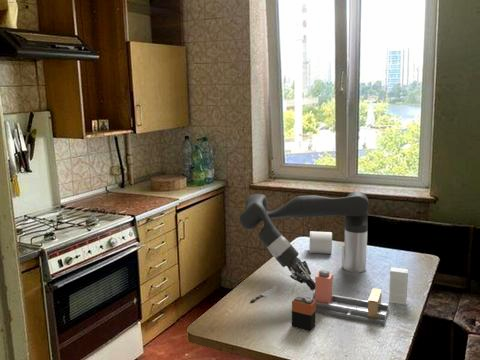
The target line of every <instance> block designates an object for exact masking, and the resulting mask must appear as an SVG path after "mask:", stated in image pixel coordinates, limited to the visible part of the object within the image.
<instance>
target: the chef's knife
mask: <svg viewBox="0 0 480 360" xmlns="http://www.w3.org/2000/svg"><path fill="white" fill-rule="evenodd" d="M277 288H278V285H274V286H272V287H271V288H269V289H268V290H265V291H264V292H262V293H261V294H259V295H258V296H255V298H253V299H251V300H250V303H251V304H252V303H255V301H257V300H258V299H259V300H260V298H262V297H264V298H269V297H270V296H271V295H272V294H274V292H276V290H277Z"/></svg>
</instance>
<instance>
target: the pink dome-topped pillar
mask: <svg viewBox="0 0 480 360" xmlns="http://www.w3.org/2000/svg"><path fill="white" fill-rule="evenodd" d="M314 279H315V280H314V282H315V289H314V292H315V301H320V302H326V303H331V301H332V295H333V285H334V284H333V283H334V274H333V273H331V272H330V271H329V270H327V269H321V270H319V271H318V272H317V273H316V275H315V277H314Z"/></svg>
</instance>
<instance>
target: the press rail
mask: <svg viewBox="0 0 480 360" xmlns="http://www.w3.org/2000/svg"><path fill="white" fill-rule="evenodd" d="M382 291H383V290H382V289H380V288H372V289H371V291H370V292H371V293H370V294H369V297H368V300H366V299H362V298H361V299H360V298H355V297H348V296H344V295H343V296H342V295H337V294H332V301H331V303H326V302H320V301H316V314H321V315H325V316H330V317H331V316H332V317H336V318H341V319H346V320H351V321H357V322H363V323H367V324H372V325H378V326H385V324H386V320H387V317H388V313H389V309H390V308H389V303H384V302H382ZM311 299H312V300H315V291H313V293H312V297H311Z"/></svg>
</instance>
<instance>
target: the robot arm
mask: <svg viewBox="0 0 480 360" xmlns="http://www.w3.org/2000/svg"><path fill="white" fill-rule="evenodd" d="M267 198H268V197H267V196H266V195H265V194H263V193H262V194H261V193H254V194H249V195H248V196H247V197H246V199H245V206H246V208H245V210H243V212H241V213H240V214H239V215H238V222H239V224H240V226H241V227H242V228H243V229H246V230H250V231H251V230H253V229H254V228H256V227H257V226H258V225H259V224H260V223H261V222H263V227H262V229H261V230H260V231H259V233H258V234H257V236H258V238H259V240H260V241H261V242H262V243H263V245H264V246H265V247H266V248H267V250H268V252H270V254H271V255H272V256H273V257H274V259H275V260H276V261H277V262H278V263H279V265H281V267H283V268H285V267H287V270H289V271H290V273H291V274H290V275H289V276H290V279H293V280H294V281H296V282H298V283H300V284H306V285H307V287H308V288H309V289H310V290H311V291H313V292H314V291H315V280H314V279H312V276H311V275H312V271H310V267H309V265H308V263H307V262H306V260H303V261H301V259H300V258H299V257H298V256H299V252H298V251H297V249H296V248H295V247H294V246H293V245H292V243H290V241H289V240H288V239H287V238H286V237H284V235H283V234H282V233H281V232H280V231H279V230H278V228H276V226H275V224H274V223H273V221H272V220H275V219H285V218H289V219H292V218H297V219H298V218H300V219H301V218H302V219H303V218H318V217H329V216H344V243H343V245H342V249H341V252H342V253H341V267H342V268H343V269H344V270H345V271H347V272H350V273H363V272H365V271H366V269H367V250H368V249H367V247H368V228H369V227H368V226H369V225H368V223H369V222H368V215H369V214H368V213H369V209H370V201H369V199H368V197H367V195H366V194H365V193H364V192H362V191H359V190H356V191H351V192H350V193H349V194H347V196H345V197H344V196H342V197H327V196H323V195H321V196H320V195H315V194H313V195H298V196H295V197H293V198H292V199H290V200H289V201H288V202H286V203H284V204H283V205H282V206H279V208H277V209H275V210H270V211H269V209H268V208H269V207H268V199H267Z"/></svg>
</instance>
